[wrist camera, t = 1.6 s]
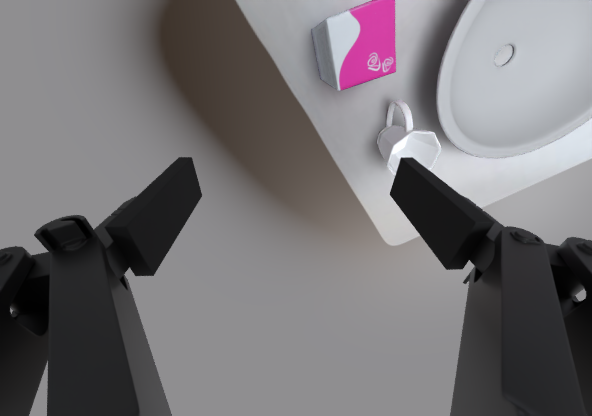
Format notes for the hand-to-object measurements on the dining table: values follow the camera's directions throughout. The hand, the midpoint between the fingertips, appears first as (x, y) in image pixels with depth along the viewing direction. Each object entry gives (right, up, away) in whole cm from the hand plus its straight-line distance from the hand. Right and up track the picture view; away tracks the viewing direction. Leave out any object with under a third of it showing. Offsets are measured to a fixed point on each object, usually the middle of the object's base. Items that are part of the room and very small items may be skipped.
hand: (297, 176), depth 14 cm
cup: (+15, +11, +20) cm, 27 cm away
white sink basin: (+28, +19, +15) cm, 37 cm away
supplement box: (+5, +19, +14) cm, 24 cm away
